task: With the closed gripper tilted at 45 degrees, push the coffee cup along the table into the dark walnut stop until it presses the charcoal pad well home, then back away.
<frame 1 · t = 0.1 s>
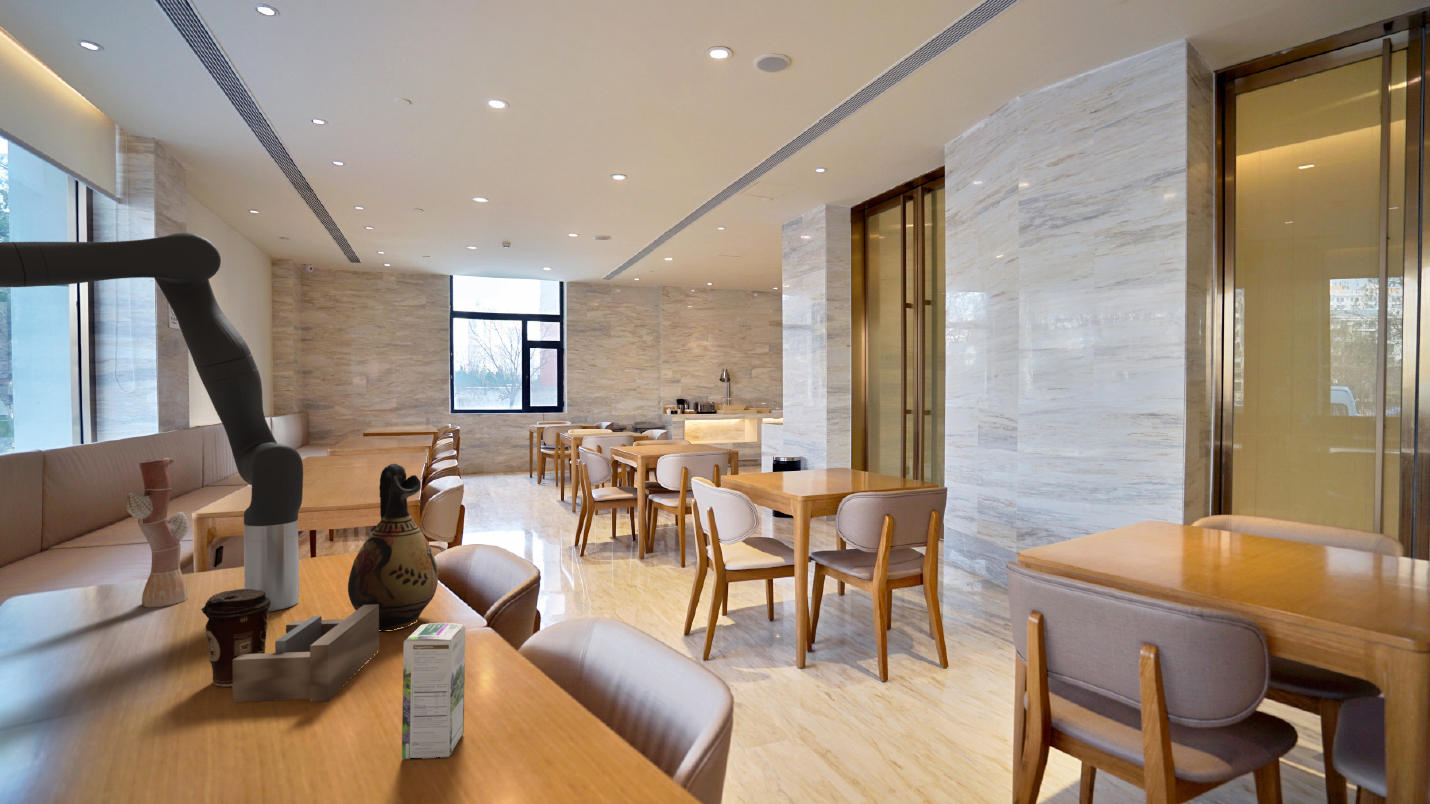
coffee cup: (237, 680, 101), on the table
vase: (159, 604, 136), on the table
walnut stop: (292, 676, 102), on the table
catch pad: (299, 650, 102), point 4 cm above the table, slide at 0.0 cm
ceramic jug: (392, 622, 126), on the table
syrup box: (434, 748, 82), on the table
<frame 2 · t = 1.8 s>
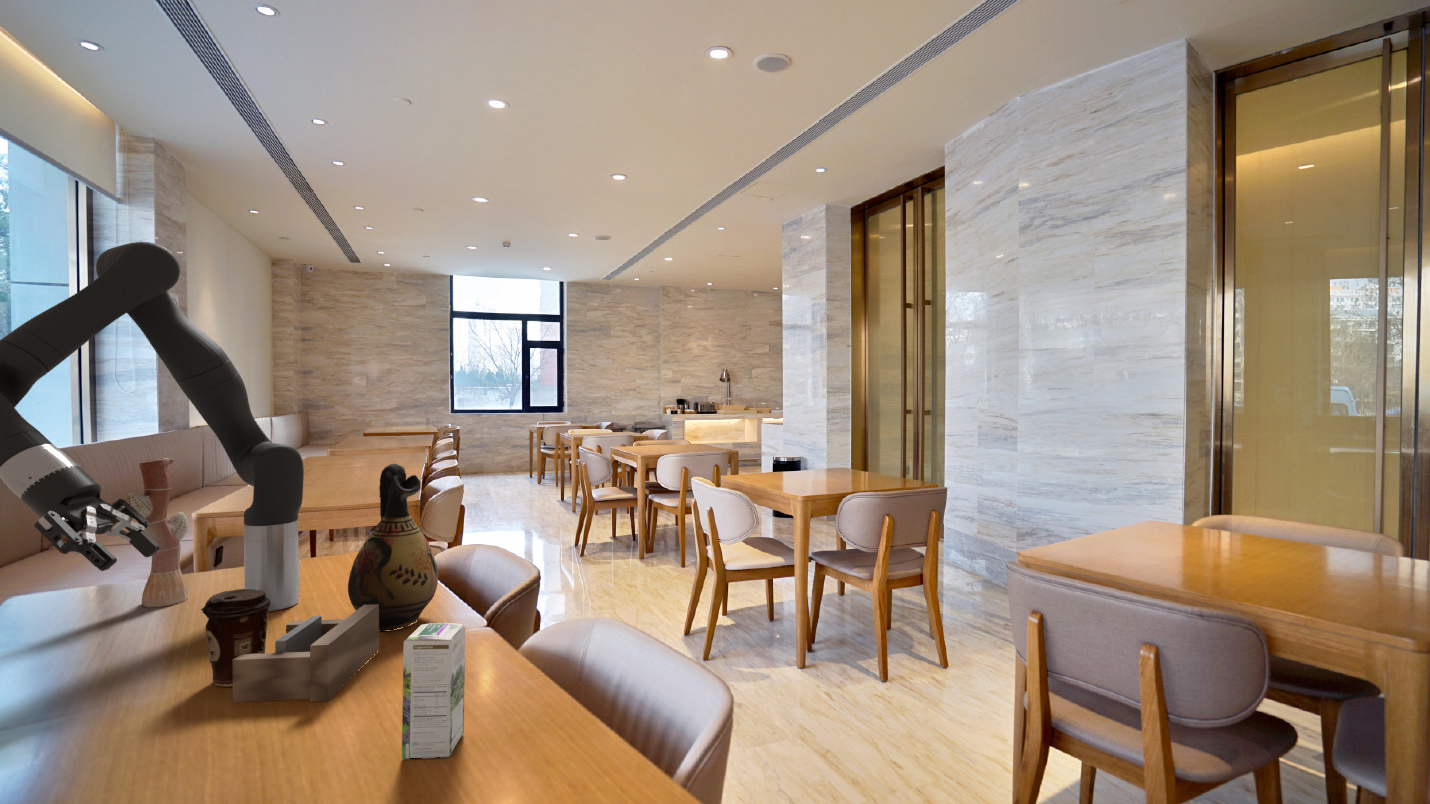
hand: (133, 559, 99), 19 cm above the table, tool tilted 45°, fingers open, 8 cm apart
nothing on the table moved.
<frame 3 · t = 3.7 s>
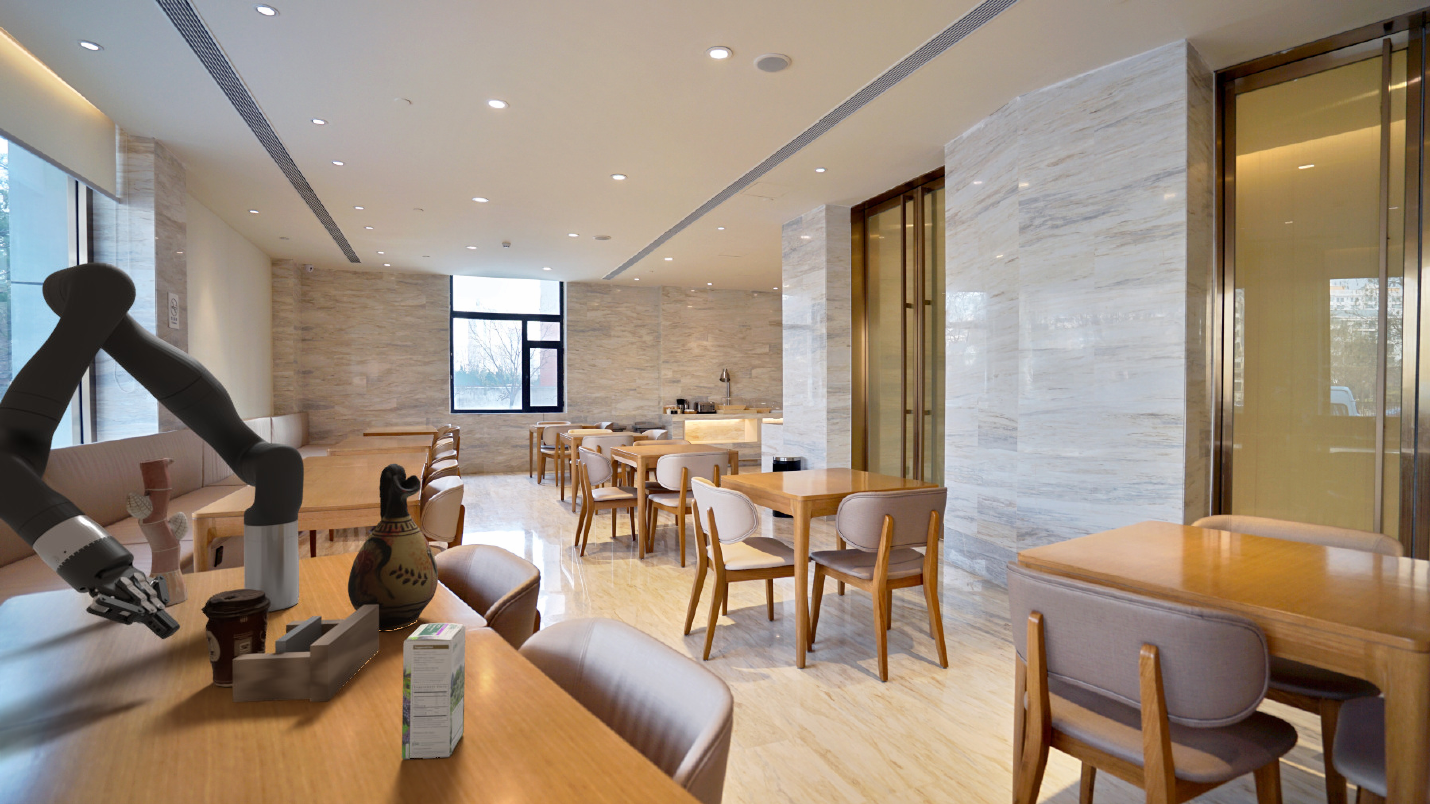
hand: (172, 633, 99), 7 cm above the table, tool tilted 45°, fingers closed
nothing on the table moved.
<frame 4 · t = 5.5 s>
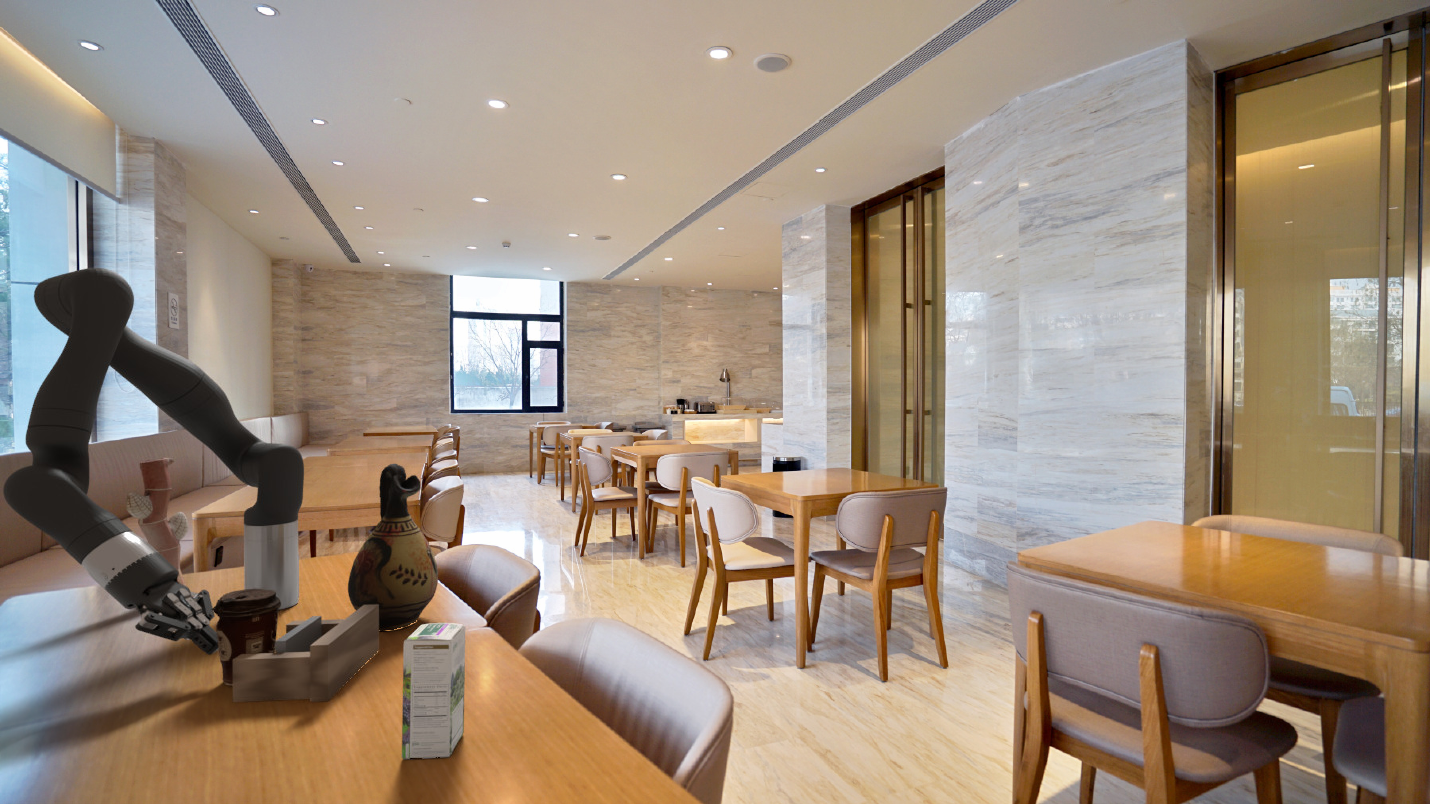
hand: (218, 648, 100), 5 cm above the table, tool tilted 45°, fingers closed
coffee cup: (247, 679, 101), on the table, touching gripper
everything else where it was.
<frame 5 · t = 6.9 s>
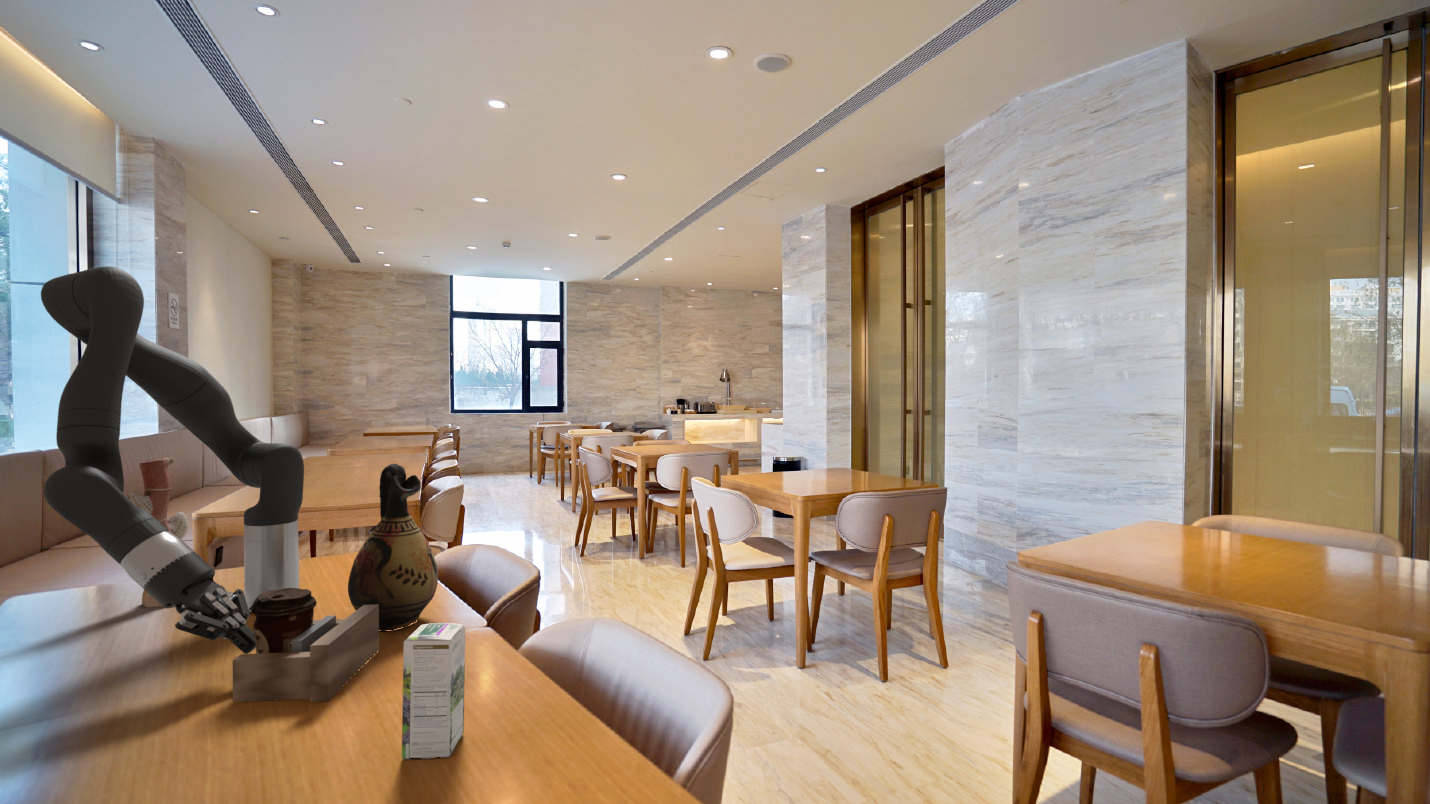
hand: (254, 647, 101), 5 cm above the table, tool tilted 45°, fingers closed
coffee cup: (283, 678, 101), on the table, touching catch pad, gripper
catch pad: (315, 649, 102), point 4 cm above the table, slide at 2.2 cm, touching coffee cup
everything else where it was.
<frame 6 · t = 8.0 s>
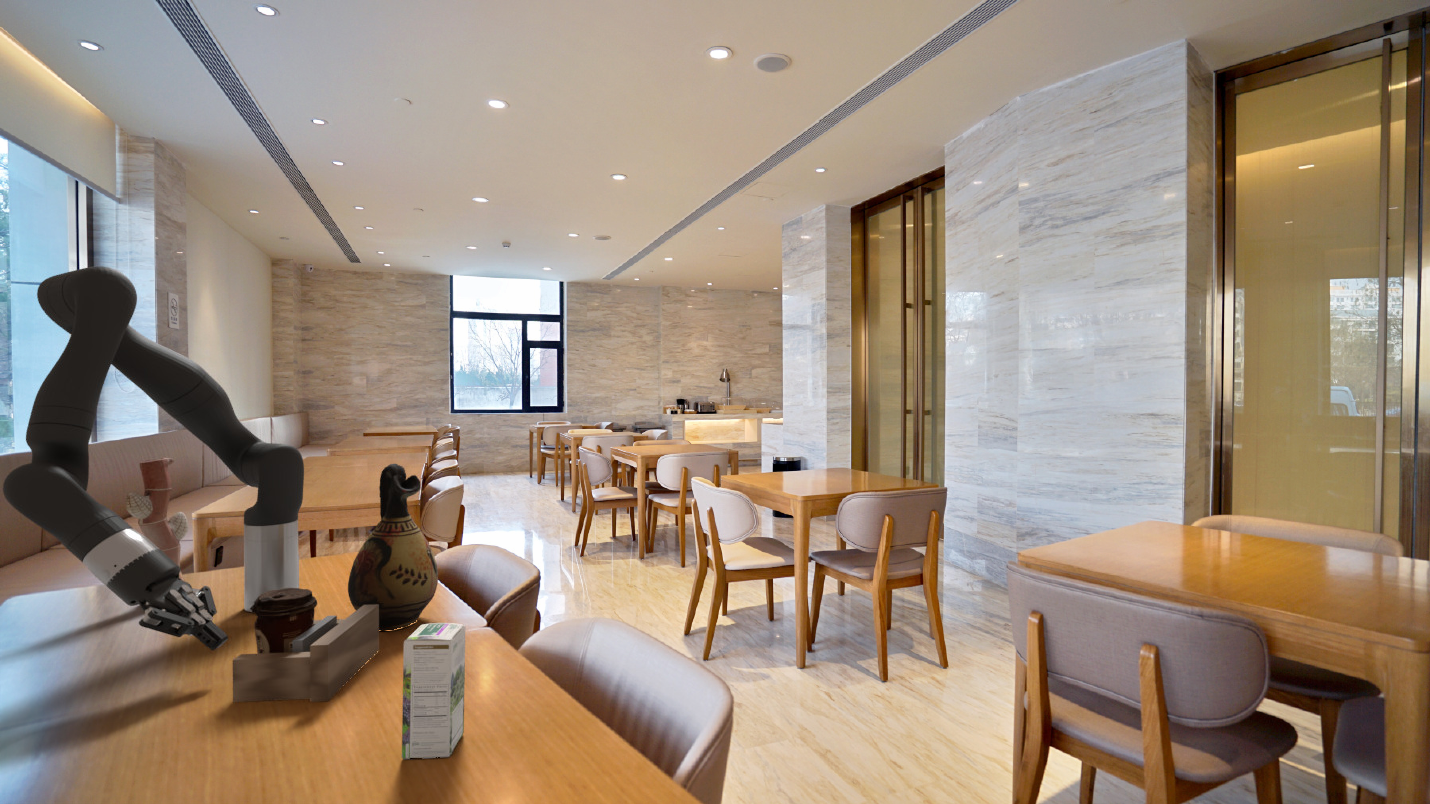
hand: (221, 644, 100), 5 cm above the table, tool tilted 45°, fingers closed
coffee cup: (284, 678, 101), on the table
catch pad: (315, 649, 102), point 4 cm above the table, slide at 2.4 cm
everything else where it was.
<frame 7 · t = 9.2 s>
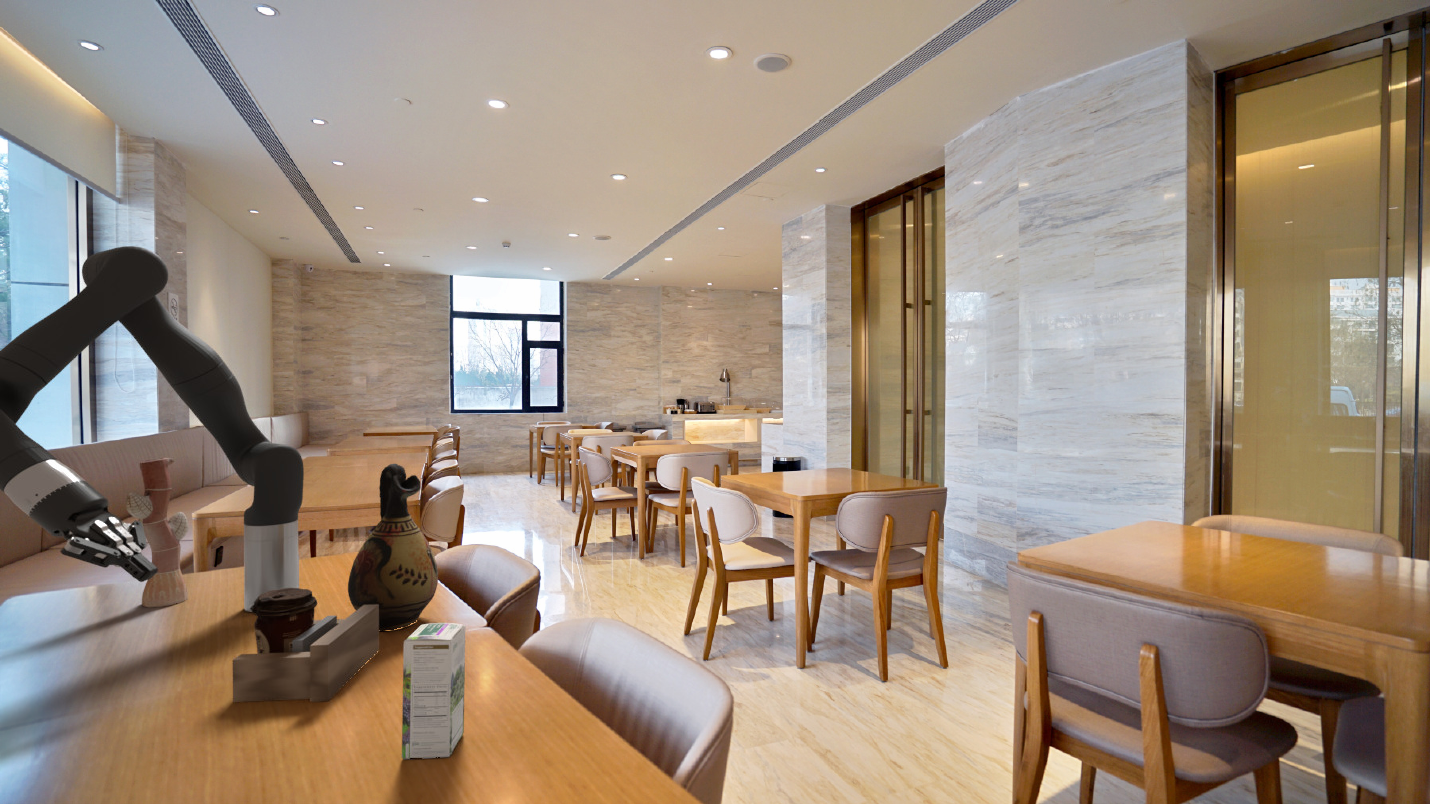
hand: (150, 576, 99), 16 cm above the table, tool tilted 45°, fingers closed
nothing on the table moved.
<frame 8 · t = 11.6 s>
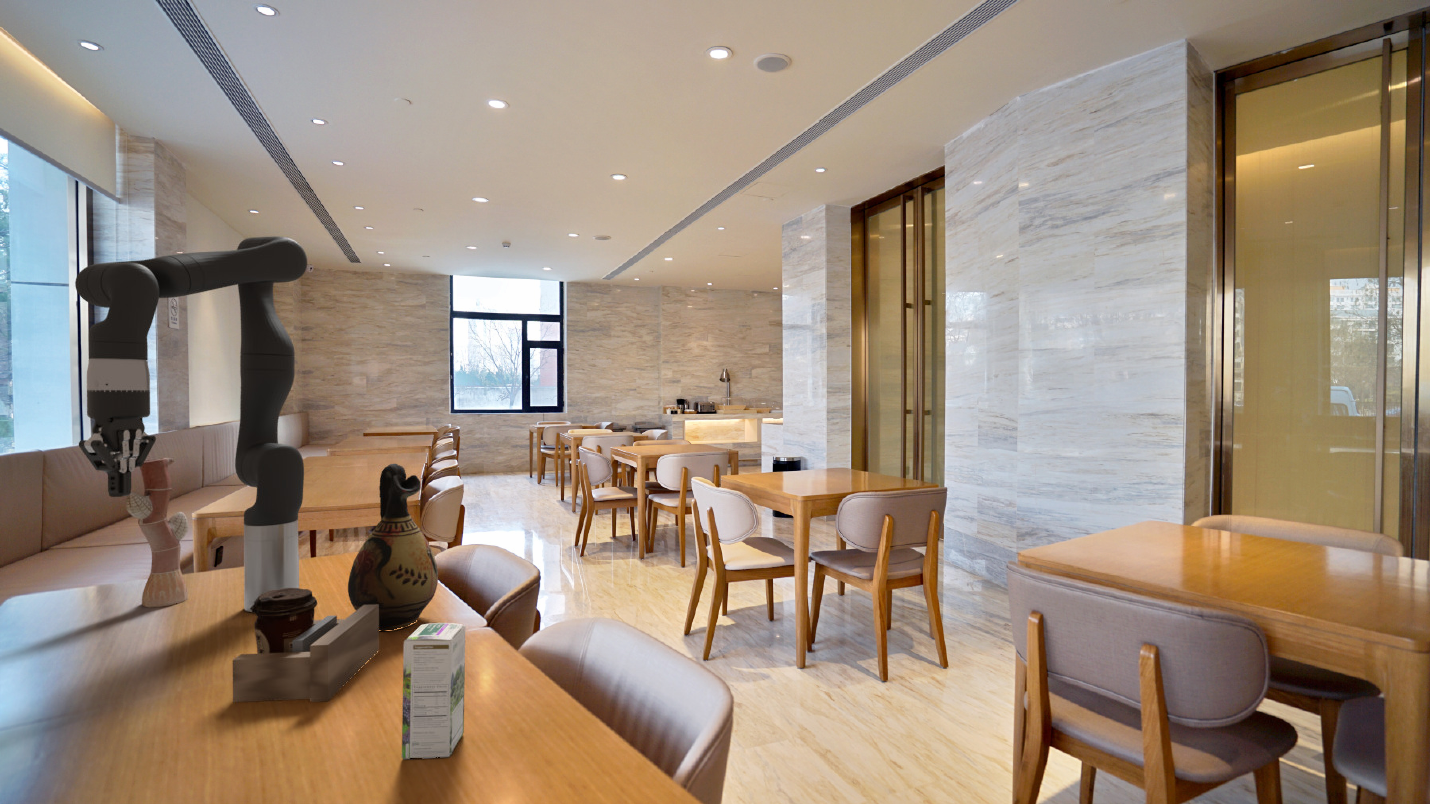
hand: (120, 495, 106), 27 cm above the table, tool pointing down, fingers closed
nothing on the table moved.
at the end: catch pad slide at 2.4 cm; coffee cup inside the target area on the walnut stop (2.1 cm from its centre), point 0.0 cm above the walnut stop's base; coffee cup tilted 0° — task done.
